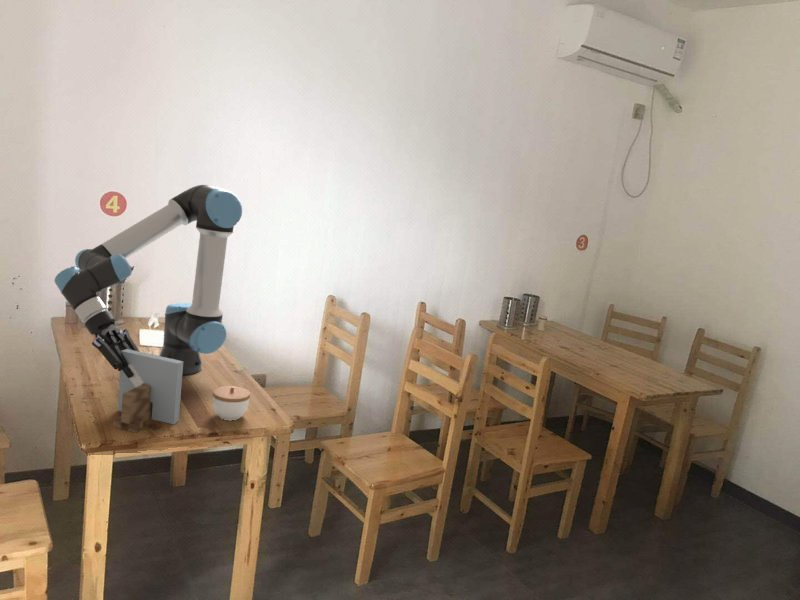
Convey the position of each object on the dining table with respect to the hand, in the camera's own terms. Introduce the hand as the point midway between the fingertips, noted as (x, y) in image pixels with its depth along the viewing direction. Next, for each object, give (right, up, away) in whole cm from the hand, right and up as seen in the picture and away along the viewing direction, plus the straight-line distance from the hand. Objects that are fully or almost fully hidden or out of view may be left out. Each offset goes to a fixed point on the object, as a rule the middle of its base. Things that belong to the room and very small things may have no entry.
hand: (143, 383), depth 185 cm
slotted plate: (+1, -9, +1) cm, 10 cm away
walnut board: (+1, -9, +1) cm, 10 cm away
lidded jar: (+22, -11, +9) cm, 26 cm away
